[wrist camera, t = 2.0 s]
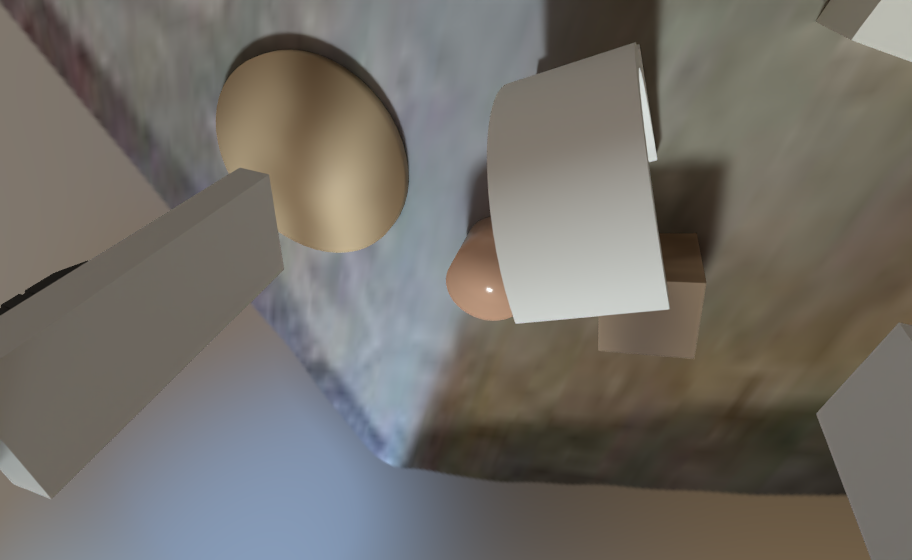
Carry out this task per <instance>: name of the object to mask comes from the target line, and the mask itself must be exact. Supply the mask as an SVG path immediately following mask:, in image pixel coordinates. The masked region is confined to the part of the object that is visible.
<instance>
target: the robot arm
mask: <svg viewBox="0 0 912 560" xmlns="http://www.w3.org/2000/svg"><path fill="white" fill-rule="evenodd" d="M283 270H284V266H283V259H282V253H281V247H280V240H279V234H278V228H277V222H276V215H275V209H274V203H273V196H272V190H271V184H270V178H269V174H265V173H261V172H257V171H253V170H248V169H244V168H238V169H237V170H235V171H233V172H232V173H230V174H229V175H227V176H225V177H224V178H222V179H221V180H219V181H217V182H216V183H214V184H212V185H211V186H209V187H208V188H206V189H204V190H203V191H201V192H199V193H198V194H196V195H195V196H193V197H191V198H190V199H188V200H187V201H185V202H183V203H182V204H180V205H178V206H177V207H175V208H174V209H172V210H170V211H169V212H167V213H166V214H164V215H162V216H161V217H159V218H158V219H156V220H154V221H153V222H151V223H149V224H148V225H146V226H145V227H143V228H142V229H140V230H138V231H136V232H135V233H133V234H132V235H130V236H128V237H127V238H125V239H123V240H122V241H120V242H119V243H117V244H116V245H114V246H112V247H111V248H109V249H107V250H106V251H104V252H102V253H101V254H100V255H98V256H96V257H94V258H93V259H91V260H89V261H85V262H83V263H80V264H77V265H74V266H72V267H69V268H66V269H63V270H61V271H58V272H55V273H53V274H51V275H50V276H48V277H47V278H45V279H43V280H41V281H40V282H38V283H37V284H35V285H33V286H32V287H30V288H28V289H27V290H25V293H24V294H23V295H21V294H18V295H17V296H15V297H13V298H12V299H10V300H8V301H7V302H5V303H3V304H2V305H1V308H0V470H1V471H2V472H3V473H4V474H5V475H6V476H7V478H8V479H10V481H11V482H12V483H13V484H15V485H17V486H20V487H22V488H25V489H27V490H30V491H32V492H35V493H37V494H40V495H42V496H45V497H47V498H50V499H53V497H55V496H56V495H57V494H58V493H59V492H60V491H61V490H62V489H63V488H64V487H65V486H66V485H67V484H68V483H69V482H70V481H71V480H72V479H73V478H74V477H75V476H76V475H77V474H78V473H79V472H80V471H81V470H82V469H83V468H84V467H85V466H86V465H87V464H88V463H89V462H90V461H91V460H92V459H93V458H94V457H95V456H96V455H97V454H98V453H99V452H100V451H101V450H102V449H103V448H104V447H105V446H106V445H107V444H108V443H109V442H110V441H111V440H112V439H113V438H114V437H115V436H116V435H117V434H118V433H119V432H120V431H121V430H122V429H123V428H124V427H125V426H126V425H127V424H128V423H129V422H130V421H131V420H132V419H133V418H134V417H135V416H136V415H137V414H138V413H139V412H140V411H141V410H142V409H144V407H146V406H147V405H148V404H149V403H150V402H151V401H152V400H153V399H154V398H155V397H156V396H157V395H158V394H159V393H160V392H161V391H162V390H163V389H164V388H165V387H166V386H167V384H169V383H170V382H171V381H172V380H173V379H174V378H175V377H176V376H177V375H178V374H179V373H180V372H181V371H182V370H183V369H184V368H185V367H186V366H187V365H188V364H189V363H190V362H191V361H192V360H193V359H194V358H195V357H196V356H197V355H198V354H199V353H200V352H201V351H202V350H203V349H204V348H205V347H206V346H207V345H208V344H209V343H210V342H211V341H212V340H213V339H214V338H215V337H216V336H217V335H218V334H219V333H220V332H221V331H222V330H223V329H224V328H225V327H226V326H227V325H228V324H229V323H230V322H231V321H232V320H233V319H234V318H235V317H236V316H237V315H238V314H239V313H240V312H242V310H243V309H245V308H246V307H247V306H248V305H249V304H250V303H251V302H252V301H253V300H254V299H255V298H256V297H257V296H258V295H259V294H260V293H261V292H262V291H263V290H264V289H265V288H266V287H267V286H268V285H269V284H270V283H271V282H272V281H273V280H274V279H275V278H276V277H277V276H278V275H279V274H280V273H281V272H282V271H283ZM816 414H817V417H818V420H819V422H820V425H821V428H822V430H823V433H824V436H825V438H826V441H827V444H828V446H829V449H830V451H831V454H832V457H833V459H834V462H835V465H836V467H837V470H838V473H839V475H840V478H841V481H842V483H843V486H844V489H845V491H846V494H847V497H848V499H849V502H850V504H851V507H852V510H853V512H854V515H855V518H856V520H857V523H858V525H859V528H860V531H861V534H862V536H863V539H864V542H865V544H866V547H867V550H868V552H869V555H870V557H871V560H912V325H907V324H903V323H898V324H897V325H896V326H895V328H894V329H893V330H892V331H891V332H890V333H889V334H888V335H887V336H886V337H885V339H884V340H883V341H882V342H881V343H880V344H879V345H878V346H877V347H876V348H875V350H874V351H873V352H872V353H871V354H870V355H869V356H868V357H867V358H866V359H865V361H864V362H863V363H862V364H861V365H860V366H859V367H858V368H857V369H856V370H855V372H854V373H853V374H852V375H851V376H850V377H849V378H848V379H847V380H846V381H845V383H844V384H843V385H842V386H841V387H840V388H839V389H838V390H837V391H836V392H835V394H834V395H833V396H832V397H831V398H830V399H829V400H828V401H827V402H826V403H825V405H824V406H823V407H822V408H821V409H820V410H819V411H818V412H817V413H816Z"/></svg>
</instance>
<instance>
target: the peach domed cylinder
mask: <svg viewBox="0 0 912 560" xmlns="http://www.w3.org/2000/svg"><path fill="white" fill-rule="evenodd" d="M446 285H447V289H448V292H449V294H450V296H451V298H452V299H453V301H454V302H455V303H456V304H457V305H458V306H459V307H460V308H461V309H462V310H464V311H465V312H466V313H468V314H470V315H472V316H474V317H477V318H480V319H484V320H494V321H496V320H503V319H507V318H510V317H512V316H513V315H512V312H511V309H510V305H509V302H508V299H507V295H506V292H505V288H504V284H503V280H502V276H501V272H500V267H499V262H498V257H497V253H496V247H495V241H494V235H493V229H492V221H491V216H490V217H487V218H484V219H482V220H480V221H478V222H477V223H476V224H475V225H474V226H473V227H472V228H471V230H470V231H469V233H468V235H467V237H466V238H465V240H464V242H463V244H462V246H461V248H460V249H459V251H458V253H457V255H456V257H455V258H454V260H453V262H452V264H451V266H450V267H449V269H448V272H447V276H446Z"/></svg>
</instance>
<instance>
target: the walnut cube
mask: <svg viewBox="0 0 912 560" xmlns="http://www.w3.org/2000/svg"><path fill="white" fill-rule="evenodd" d="M659 237H660V244H661V250H662V257H663V263H664V269H665V276H666V282H667V288H668V296H669V308H670V309H668V310H658V311H647V312H636V313H625V314H615V315H604V316H599V321H598V351H608V352H619V353H631V354H643V355H655V356H666V357H678V358H690V359H694V358H695V352H696V345H697V339H698V333H699V327H700V320H701V314H702V308H703V301H704V295H705V289H706V278H705V273H704V268H703V263H702V258H701V253H700V248H699V243H698V238H697V233H659Z"/></svg>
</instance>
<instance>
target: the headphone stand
mask: <svg viewBox="0 0 912 560" xmlns="http://www.w3.org/2000/svg"><path fill="white" fill-rule="evenodd" d="M656 160H657V153H656V146H655V140H654V134H653V127H652V121H651V114H650V108H649V102H648V95H647V89H646V82H645V76H644V70H643V63H642V57H641V50H640V44H638V45H637V44H636V42H634V43H631V44H628V45H625V46H622V47H619V48H616V49H613V50H610V51H607V52H604V53H601V54H597V55H594V56H591V57H588V58H585V59H582V60H579V61H576V62H573V63H570V64H567V65H564V66H560V67H557V68H554V69H551V70H548V71H545V72H542V73H539V74H536V75H533V76H530V77H527V78H523V79H520V80H517V81H514V82H511V83H508V84H506V85H504V86H503V87H502V88H501V89H500V90H499V92H498V93H497V95H496V98H495V100H494V103H493V107H492V111H491V116H490V121H489V130H488V142H487V177H488V194H489V204H490V214H491V221H492V229H493V235H494V241H495V247H496V253H497V257H498V262H499V267H500V272H501V276H502V280H503V284H504V288H505V292H506V295H507V299H508V302H509V305H510V309H511V312H512V315H513V318H514V320H515V323H516V324H518V323H528V322H539V321H550V320H561V319H571V318H582V317H593V316H604V315H615V314H625V313H636V312H647V311H658V310H668V309H670V308H669V296H668V288H667V282H666V276H665V269H664V263H663V257H662V250H661V244H660V237H659V231H658V224H657V217H656V210H655V203H654V197H653V189H652V182H651V175H650V168H649V162H652V161H656Z"/></svg>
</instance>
